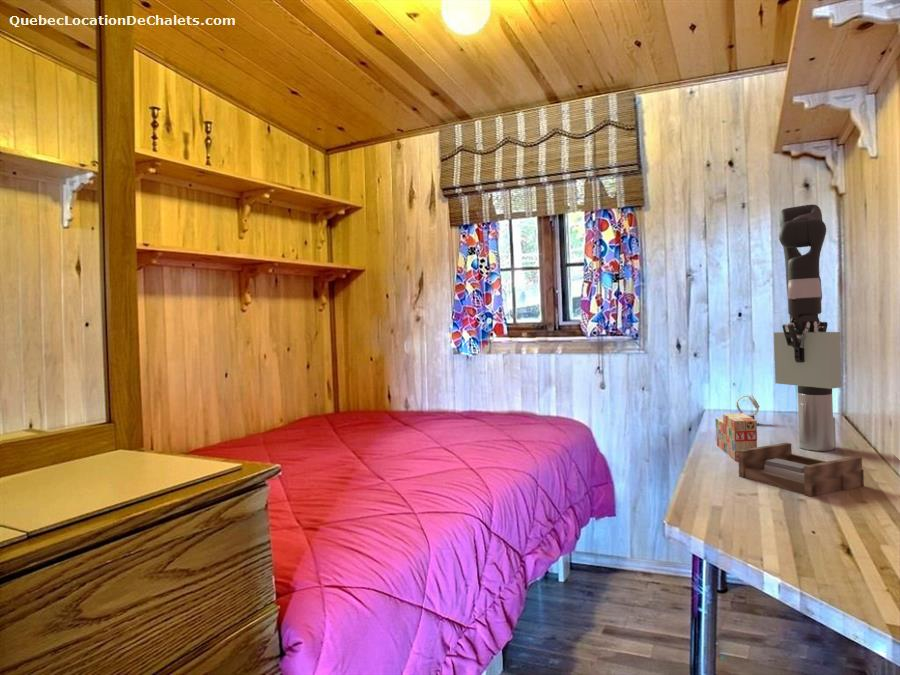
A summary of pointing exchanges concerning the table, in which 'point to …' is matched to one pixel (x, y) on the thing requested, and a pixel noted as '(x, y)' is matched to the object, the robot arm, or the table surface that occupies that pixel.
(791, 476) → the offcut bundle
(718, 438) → the stack of blocks
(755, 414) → the watch
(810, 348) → the tall sheet
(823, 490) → the rack
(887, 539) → the table surface
